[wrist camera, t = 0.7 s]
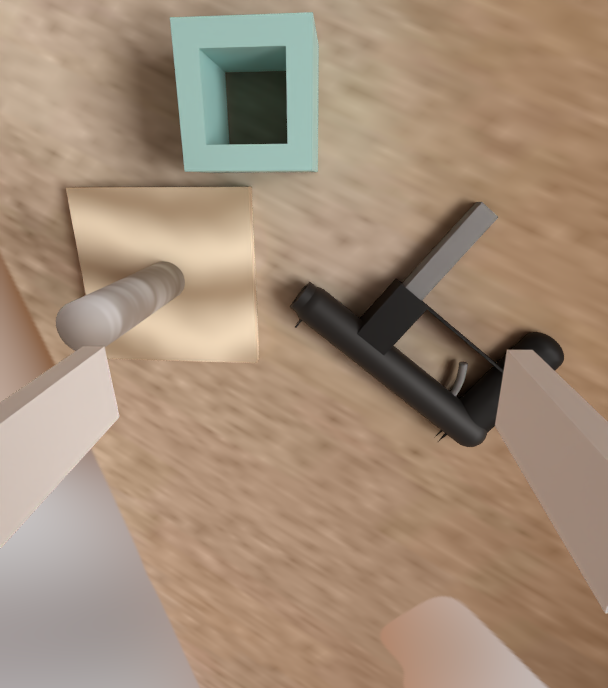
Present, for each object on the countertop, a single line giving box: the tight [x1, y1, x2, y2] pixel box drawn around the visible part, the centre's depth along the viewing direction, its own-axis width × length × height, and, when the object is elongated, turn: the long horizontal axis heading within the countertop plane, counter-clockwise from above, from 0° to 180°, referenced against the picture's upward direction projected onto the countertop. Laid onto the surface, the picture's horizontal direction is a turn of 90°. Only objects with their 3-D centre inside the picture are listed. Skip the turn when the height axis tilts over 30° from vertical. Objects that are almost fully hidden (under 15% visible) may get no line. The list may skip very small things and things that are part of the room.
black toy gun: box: [290, 202, 564, 447], centre depth 34 cm, size 3×20×16 cm
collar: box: [170, 12, 318, 173], centre depth 28 cm, size 8×8×6 cm
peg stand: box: [56, 187, 259, 363], centre depth 30 cm, size 14×14×13 cm
